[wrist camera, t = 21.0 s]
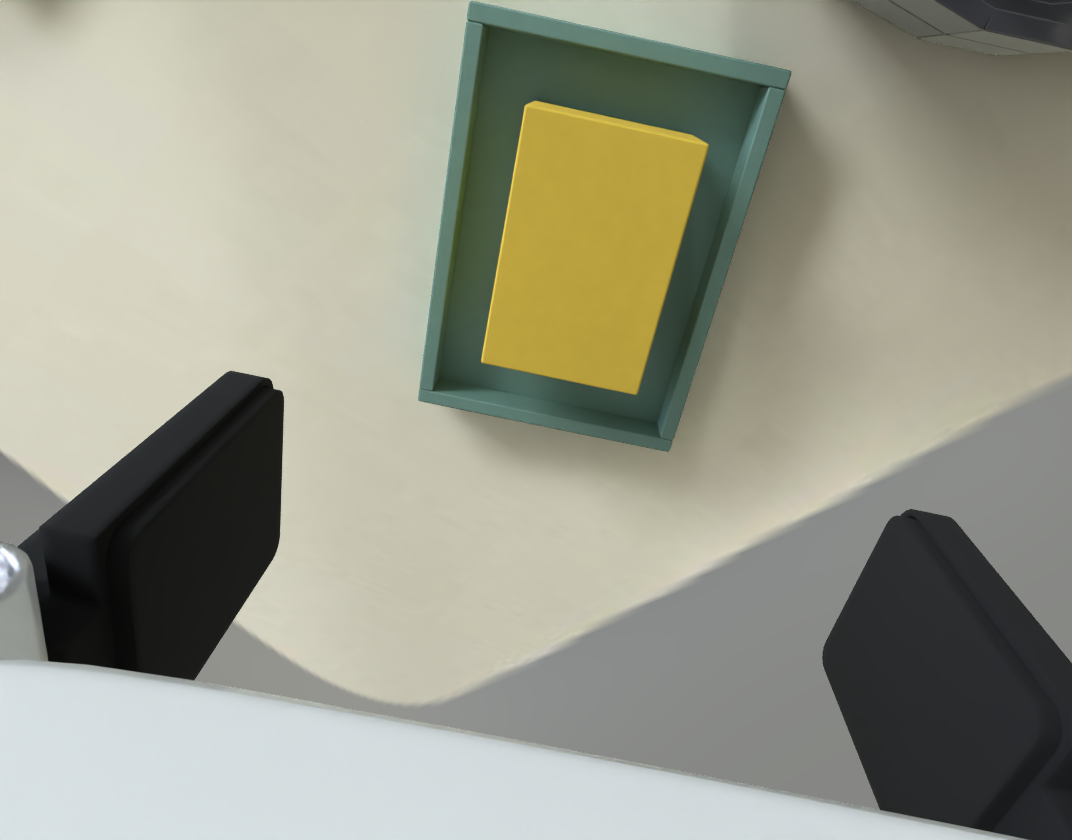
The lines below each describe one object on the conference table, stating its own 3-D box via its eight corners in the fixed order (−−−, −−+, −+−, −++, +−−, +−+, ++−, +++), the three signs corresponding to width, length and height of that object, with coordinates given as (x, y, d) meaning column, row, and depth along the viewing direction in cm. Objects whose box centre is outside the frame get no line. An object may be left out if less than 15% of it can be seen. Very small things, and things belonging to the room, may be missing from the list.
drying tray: (477, 5, 25) (468, -1, 23) (778, 71, 25) (792, 70, 24) (427, 382, 32) (417, 401, 30) (664, 431, 32) (669, 452, 30)
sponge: (534, 99, 26) (524, 103, 22) (691, 133, 26) (710, 144, 22) (495, 325, 30) (480, 363, 26) (630, 353, 30) (637, 396, 26)
